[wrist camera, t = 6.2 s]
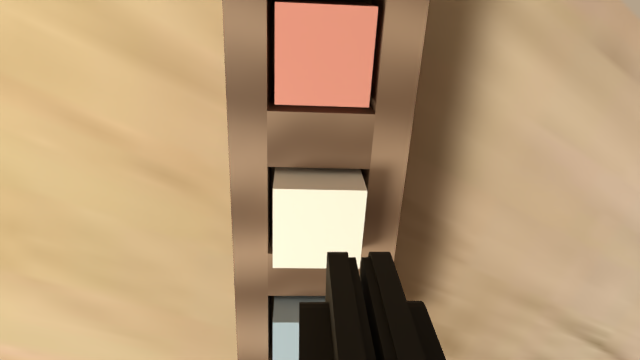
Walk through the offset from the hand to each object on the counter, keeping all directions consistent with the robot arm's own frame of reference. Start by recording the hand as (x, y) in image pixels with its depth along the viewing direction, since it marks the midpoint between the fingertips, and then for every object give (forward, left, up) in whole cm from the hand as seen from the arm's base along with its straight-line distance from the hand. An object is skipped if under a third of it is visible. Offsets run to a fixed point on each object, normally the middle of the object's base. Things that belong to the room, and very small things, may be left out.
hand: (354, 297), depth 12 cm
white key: (+5, 0, -16) cm, 16 cm away
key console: (+5, 0, -20) cm, 20 cm away
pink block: (-4, 0, -17) cm, 18 cm away
